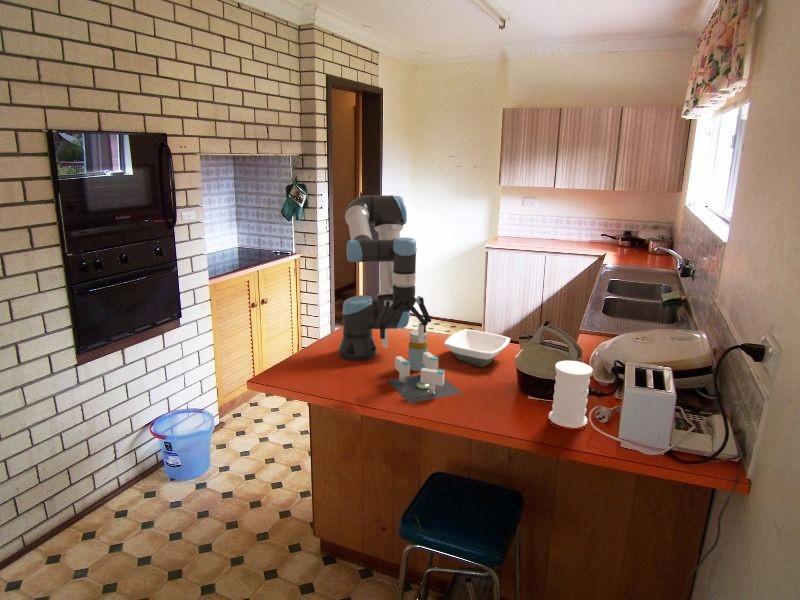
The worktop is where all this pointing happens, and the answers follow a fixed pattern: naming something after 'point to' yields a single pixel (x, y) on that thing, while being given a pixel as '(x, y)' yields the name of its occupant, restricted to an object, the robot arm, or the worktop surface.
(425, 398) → the plate
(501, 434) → the worktop surface
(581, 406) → the decorative container
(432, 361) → the knob far
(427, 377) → the knob front
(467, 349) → the bowl
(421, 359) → the bottle
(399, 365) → the knob near
